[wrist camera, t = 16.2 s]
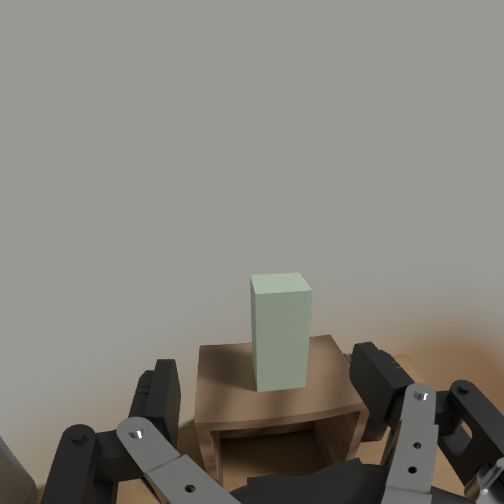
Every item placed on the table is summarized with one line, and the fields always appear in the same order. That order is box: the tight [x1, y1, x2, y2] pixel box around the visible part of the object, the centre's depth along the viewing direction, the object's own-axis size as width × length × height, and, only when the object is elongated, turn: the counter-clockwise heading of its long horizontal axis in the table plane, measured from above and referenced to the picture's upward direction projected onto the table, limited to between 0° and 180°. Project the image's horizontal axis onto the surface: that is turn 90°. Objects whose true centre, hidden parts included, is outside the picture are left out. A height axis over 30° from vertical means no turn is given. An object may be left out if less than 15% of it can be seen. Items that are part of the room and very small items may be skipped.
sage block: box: [250, 272, 312, 392], centre depth 30 cm, size 5×5×11 cm
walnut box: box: [194, 335, 370, 488], centre depth 34 cm, size 17×14×18 cm
